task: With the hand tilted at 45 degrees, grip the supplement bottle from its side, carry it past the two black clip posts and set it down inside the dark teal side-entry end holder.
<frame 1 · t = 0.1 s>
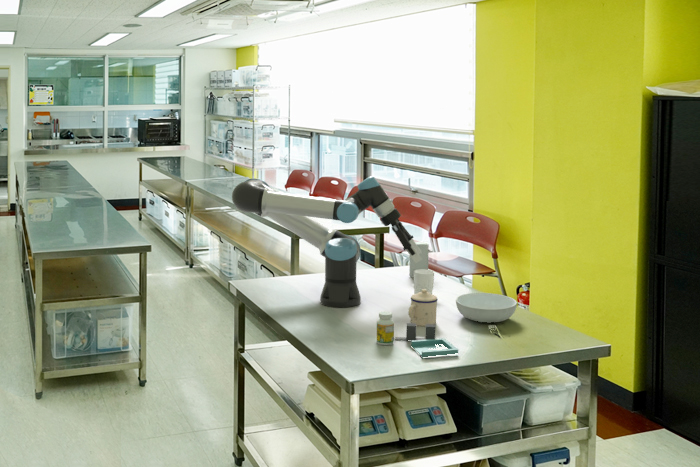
hand: (418, 257, 276), 15 cm above the table, tool tilted 35°, fingers open, 13 cm apart
teacup with lid: (420, 324, 242), on the table
end holder: (433, 351, 215), on the table
clip posts: (420, 340, 225), on the table
skincare box: (418, 276, 312), on the table
white cup: (423, 297, 278), on the table
fork: (502, 340, 227), on the table
serving bowl: (485, 319, 249), on the table
supplement bottle: (385, 343, 222), on the table
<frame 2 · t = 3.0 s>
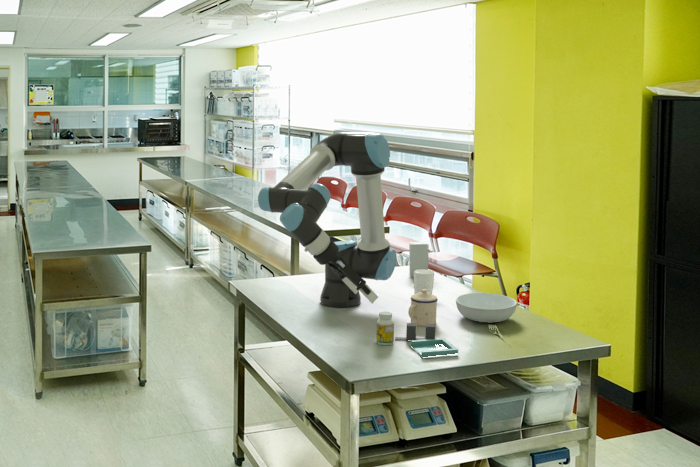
hand: (366, 295, 218), 15 cm above the table, tool tilted 40°, fingers open, 13 cm apart
nothing on the table moved.
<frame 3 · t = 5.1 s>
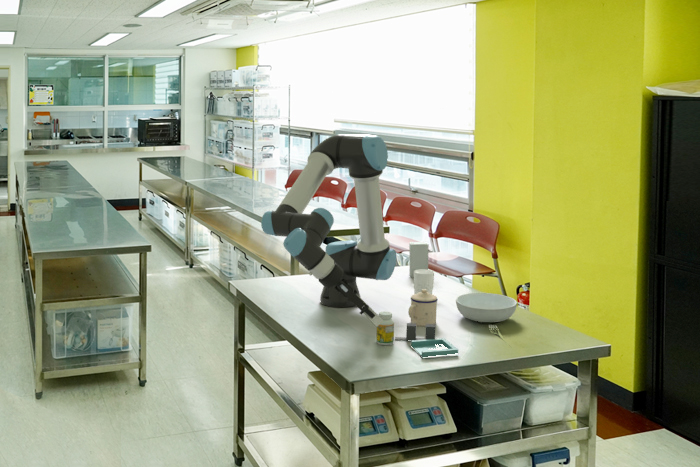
hand: (373, 316, 219), 9 cm above the table, tool tilted 45°, fingers open, 13 cm apart
nothing on the table moved.
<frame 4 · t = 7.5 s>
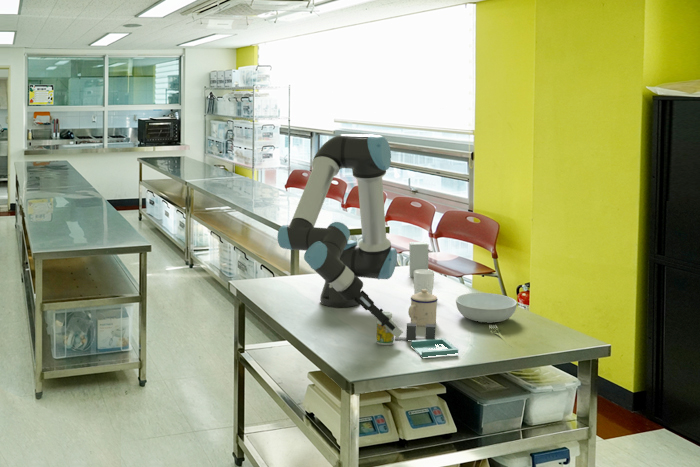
hand: (396, 331, 222), 3 cm above the table, tool tilted 45°, fingers closed on supplement bottle, 5 cm apart
supplement bottle: (385, 343, 222), on the table, touching gripper
everything else where it was.
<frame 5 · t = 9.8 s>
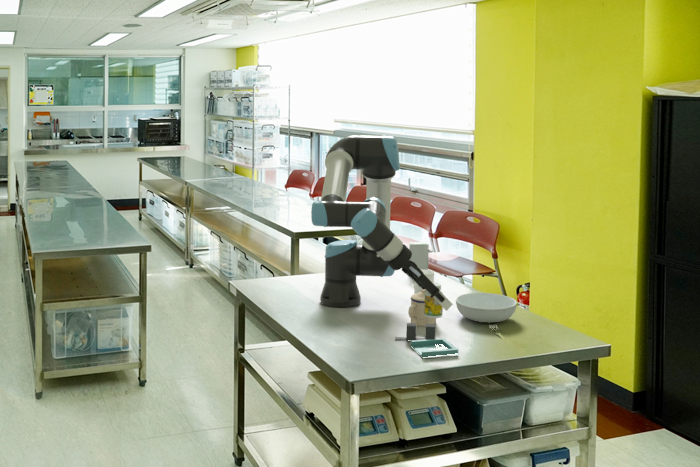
hand: (445, 304, 213), 14 cm above the table, tool tilted 45°, fingers closed on supplement bottle, 5 cm apart
supplement bottle: (433, 316, 213), point 11 cm above the table, touching gripper
everything else where it was.
when the fingers open (5 cm above the table, at t = 12.2 s): supplement bottle drops 1 cm, resting on end holder.
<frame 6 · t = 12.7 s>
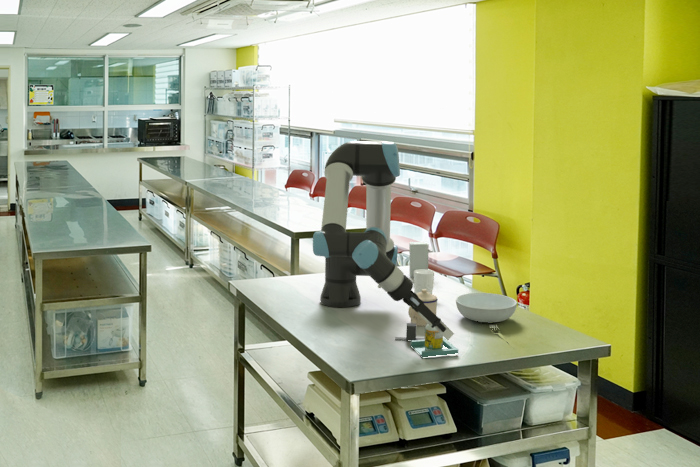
hand: (442, 330, 214), 6 cm above the table, tool tilted 45°, fingers open, 12 cm apart
supplement bottle: (433, 349, 215), resting on end holder
everything else where it was.
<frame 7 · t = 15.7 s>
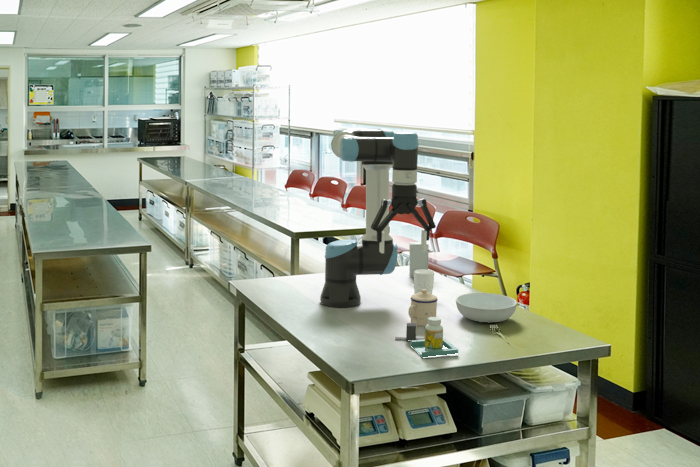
hand: (402, 251, 221), 28 cm above the table, tool pointing down, fingers open, 13 cm apart
nothing on the table moved.
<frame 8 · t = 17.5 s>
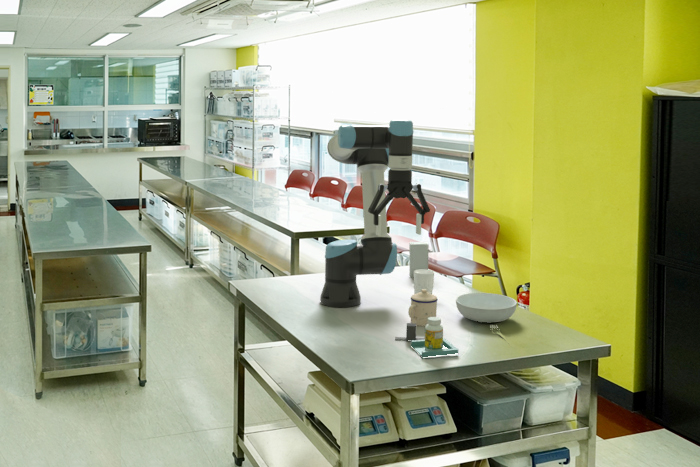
hand: (398, 234, 231), 32 cm above the table, tool pointing down, fingers open, 13 cm apart
nothing on the table moved.
at the end: supplement bottle inside the target area on the end holder (0.1 cm from its centre), point 0.4 cm above the end holder's base; supplement bottle tilted 0°; the gripper is holding nothing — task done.
